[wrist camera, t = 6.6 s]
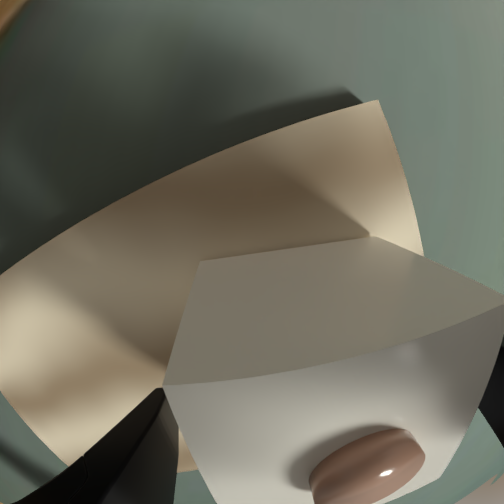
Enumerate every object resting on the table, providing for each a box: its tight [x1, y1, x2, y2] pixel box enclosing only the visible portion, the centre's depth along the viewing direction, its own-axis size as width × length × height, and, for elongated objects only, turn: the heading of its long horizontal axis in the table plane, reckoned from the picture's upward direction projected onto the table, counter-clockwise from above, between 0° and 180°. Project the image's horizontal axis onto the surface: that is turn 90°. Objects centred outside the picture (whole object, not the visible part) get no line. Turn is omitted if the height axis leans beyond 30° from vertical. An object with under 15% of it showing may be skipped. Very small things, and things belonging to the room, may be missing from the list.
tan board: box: [0, 100, 424, 473], centre depth 10 cm, size 14×24×4 cm, turn 112°
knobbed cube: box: [162, 236, 504, 504], centre depth 7 cm, size 6×6×7 cm
